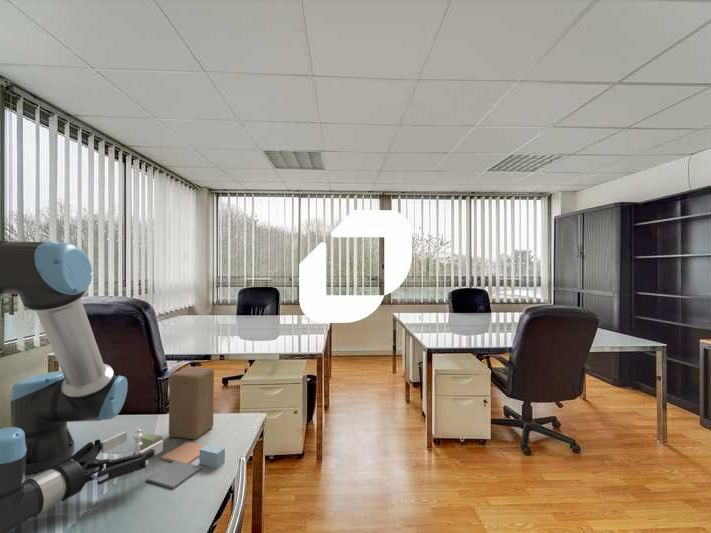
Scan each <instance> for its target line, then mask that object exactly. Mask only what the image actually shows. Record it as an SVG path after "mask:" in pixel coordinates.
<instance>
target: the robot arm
mask: <svg viewBox="0 0 711 533" xmlns="http://www.w3.org/2000/svg"><path fill="white" fill-rule="evenodd" d="M92 272H93V269H92V264H91V261H90V258H89V257H88V255H87V254H86V252H85V251H84V250H83V249H81V248H80V247H79V246H77V245H74V244H72V243H67V242H60V241H59V242H58V241H53V240H51V241H49V240H47V241H10V240H9V241H8V240H0V299H1V298H2V296H3V295H18V296H19V298H20V301H21V303H22V306H24V308H25V309H27V310H29V311H33V312H36V315H37V317H38V320H39V321H40V322H39V323H40V324H41V326H42V329H43V330H44V334H45V335H46V338H47V340H48V342H49V345H50V347H51V350H52V352H53V354H54V356H55V359H56V361H57V363H58V366H59V368H60V370H59V371H58V370H57V371H51V372H46V373H42V374H37V375H33V376H30V377H27V378H26V377H25V378H24V379H21V380H19V381H17V382H16V383H15V384H14V385H12V388H11V395H10V399H9V402H10V426H9V427H3V428H0V533H9V531H12V530H13V529H15V528H17V527H19V526H20V525H22V524H24V523H25V522H27V521H29V520H30V519H33V518H35V517H37V516H39V515H41V514H43V513H44V512H46V511H47V510H49V509H51V508H53V507H54V506H57V505H59V504H60V503H62V502H64V501H65V500H68V499H69V498H72V497H73V496H75V495H77V494H78V493H80V492H81V491H82V490H83V488H84V487H85V485H86V483H89V482H91V481H94V480H96V484H97V485H99V486H100V485H102V484H103V485H104V484H105V483H106V482H108V481H111V480H113V479H117V478H119V477H122V476H125V475H128V474H131V473H134V472H137V471H140V470H144V469H145V468H146V467H147V465H146V460H148V461H149V460H150V459H152V458H153V457H155V456H156V455H158V454H160V453H162V452H163V451H164V440H160V441H159V442H157V443H155V444H153V445H151V446H149V447H147V448H145V449H144V450H142V451H140V452H139V454H137V455H135V454H134V455H127V456H124V457H120V458H115V459H110V458H106V459H105V458H104V459H98V458H97V457H98V456H99V454H100V453H105V452H109V451H110V450H112V449H114V448H116V447H118V446H120V445H123V444H124V443H126V442H127V441H128V440H127V439H128V437H127V434H128V432H127V431H122V432H120V433H118V434H116V435H113V436H112V437H109V438H107V439H106V440H103V441H101V439H95V440H94V441H93V442H91V441H90V442H88V443H86V444H85V445H84V446H83V447H81V448H80V449H79V450H77V451H76V452H75V447H76V446H75V441H74V439H73V437H72V434H71V432H70V429H69V428H68V423H71V422H72V423H75V422H76V423H77V422H101V421H106V420H112V419H114V418H115V417H117V415H119V413H120V412H121V410H122V409H123V406H124V404H125V401H126V398H127V393H128V386H129V385H128V384H129V383H128V379H127V377H126V376H122V375H120V374H119V375H117V376H116V375H115V373H114V370H113V368H112V366H110V365H109V364H106V363H104V361H103V358H102V356H101V352H100V350H99V347H98V344H97V342H96V338H95V335H94V332H93V329H92V327H91V324H90V320H89V318H88V315H87V311H86V309H85V307H84V303H83V301H82V300H83V299H82V298H83V297H84V296H85V295H86V292H87V290H88V289H89V286H90V285H91V282H92V280H93V279H92V278H93V276H92V275H91V273H92ZM34 473H38V474H36V475H34V476H32V477H29V478H28V479H26V475H30V474H34Z"/></svg>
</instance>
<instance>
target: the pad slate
mask: <svg viewBox="0 0 711 533" xmlns="http://www.w3.org/2000/svg"><path fill="white" fill-rule="evenodd" d="M201 470H202V466H199V465H195V464H191V463H189V464H188V463H184V462H180V461H176V460H175V461H173V462H172V461H171V462H170V463H168V464H167V465H166V466H164V467H162V468H161V469H159V470H157V471H156V472H155V473H153V474H151V475H149V476H148V477H146V478H145V482H149V483H152V484H156V485H158V486H162V487H164V488H165V487H166V488H168V489H172V490H175V488H177V487H179V486H180V485H181V484H182V483H184V482H185V481H187V480H188V479H190V478H191V477H192V476H194V475H195V474H196V473H198V472H199V471H201Z"/></svg>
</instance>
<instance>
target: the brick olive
mask: <svg viewBox="0 0 711 533" xmlns="http://www.w3.org/2000/svg"><path fill="white" fill-rule="evenodd" d="M141 434H142V438H141V441H140V442H142V443H143V444H142V445H140V451H142V450H144V449H145V448H147V447H149V446H151V445H153V444H155V443H157V442H159V441H160V440H162V439H163V438H162V437H163V436H162V435H160V434H159V435H158V434H154V433H150V432H145V433H141ZM162 441H163V440H162Z"/></svg>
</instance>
